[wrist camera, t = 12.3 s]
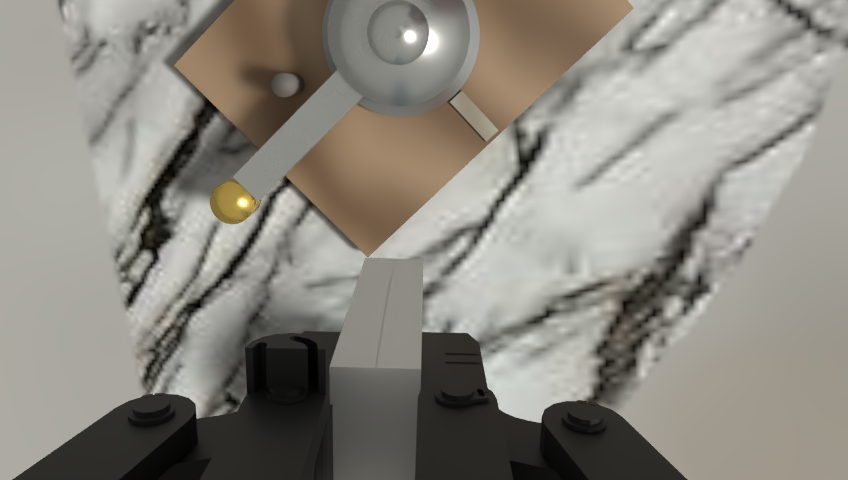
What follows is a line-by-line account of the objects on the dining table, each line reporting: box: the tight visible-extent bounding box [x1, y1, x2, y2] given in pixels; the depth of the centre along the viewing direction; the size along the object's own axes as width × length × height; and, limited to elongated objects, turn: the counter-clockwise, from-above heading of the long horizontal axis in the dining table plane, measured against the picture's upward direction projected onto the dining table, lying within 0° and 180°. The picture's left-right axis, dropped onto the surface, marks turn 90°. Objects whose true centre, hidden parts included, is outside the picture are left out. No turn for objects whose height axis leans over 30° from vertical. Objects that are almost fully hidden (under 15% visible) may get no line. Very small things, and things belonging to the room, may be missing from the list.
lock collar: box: [210, 0, 470, 224], centre depth 35 cm, size 7×17×3 cm, turn 134°
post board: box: [174, 0, 633, 257], centre depth 35 cm, size 20×15×4 cm
